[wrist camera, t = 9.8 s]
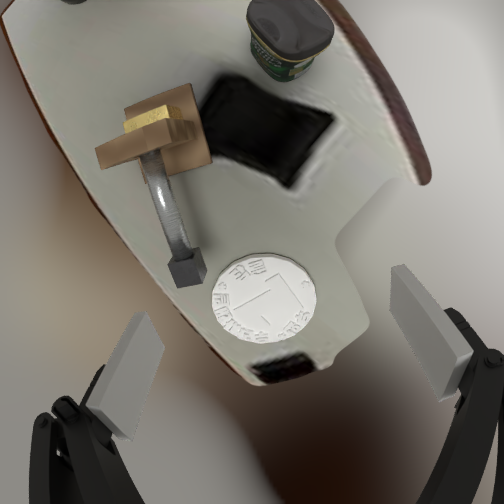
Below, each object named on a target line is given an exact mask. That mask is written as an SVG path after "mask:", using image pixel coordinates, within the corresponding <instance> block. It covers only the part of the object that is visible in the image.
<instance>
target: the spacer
mask: <svg viewBox="0 0 504 504" xmlns="http://www.w3.org/2000/svg"><path fill="white" fill-rule="evenodd" d="M163 118H171V119H180V120H183V117H182V114H181V110H180V108H178V107H174V106H170V105H164V106H161V107H158V108H156V109H153V110H151V111H148V112H146V113H143V114H141V115H139V116H136V117H134V118H132V119H129V120H127V121H125V122H123V126H124V129H125V133H129V132H131V131H133V130H136V129H138V128H140V127H143V126H145V125H148V124H150V123H153V122H156V121H158V120H161V119H163Z"/></svg>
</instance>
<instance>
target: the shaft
mask: <svg viewBox="0 0 504 504" xmlns="http://www.w3.org/2000/svg"><path fill="white" fill-rule="evenodd" d="M139 158H140V161H141V165H142V168H143V171H144V174H145V178H146V181H147V184H148V187H149V190H150V193H151V196H152V199H153V202H154V205H155V208H156V211H157V214H158V217H159V220H160V222H161V225H162V228H163V231H164V234H165V236H166V239H167V242H168V244H169V247H170V250H171V252H172V255H173V257H172V258H171V260H170V261H169V263H168V267H169V269H170V272H171V274H172V277H173V279H174V282H175V284H176V286H177V288H182V287H187V286H192V285H197V284H202V283H203V281H204V278H205V275H206V272H207V268H206V265H205V263H204V260H203V257H202V254H201V251H200V248H199V247H197V248H193V249H192V247H191V244H190V241H189V238H188V235H187V232H186V230H185V227H184V224H183V221H182V218H181V215H180V212H179V209H178V206H177V202H176V199H175V196H174V193H173V190H172V187H171V184H170V180H169V177H168V174H167V171H166V167H165V164H164V161H163V157H162V154H161V151H160V148H158V149H155V150H153V151H150V152H147V153H145V154H142V155H139Z"/></svg>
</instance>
